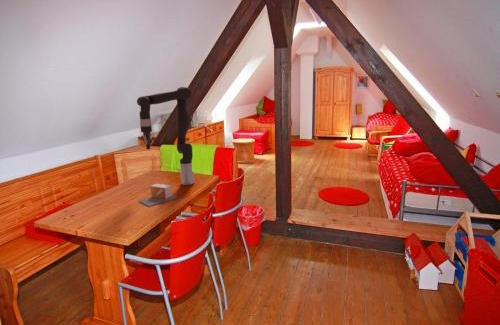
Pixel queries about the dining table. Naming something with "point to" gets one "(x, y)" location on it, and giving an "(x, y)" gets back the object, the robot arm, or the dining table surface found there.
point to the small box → (161, 191)
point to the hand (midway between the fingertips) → (148, 149)
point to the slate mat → (156, 200)
